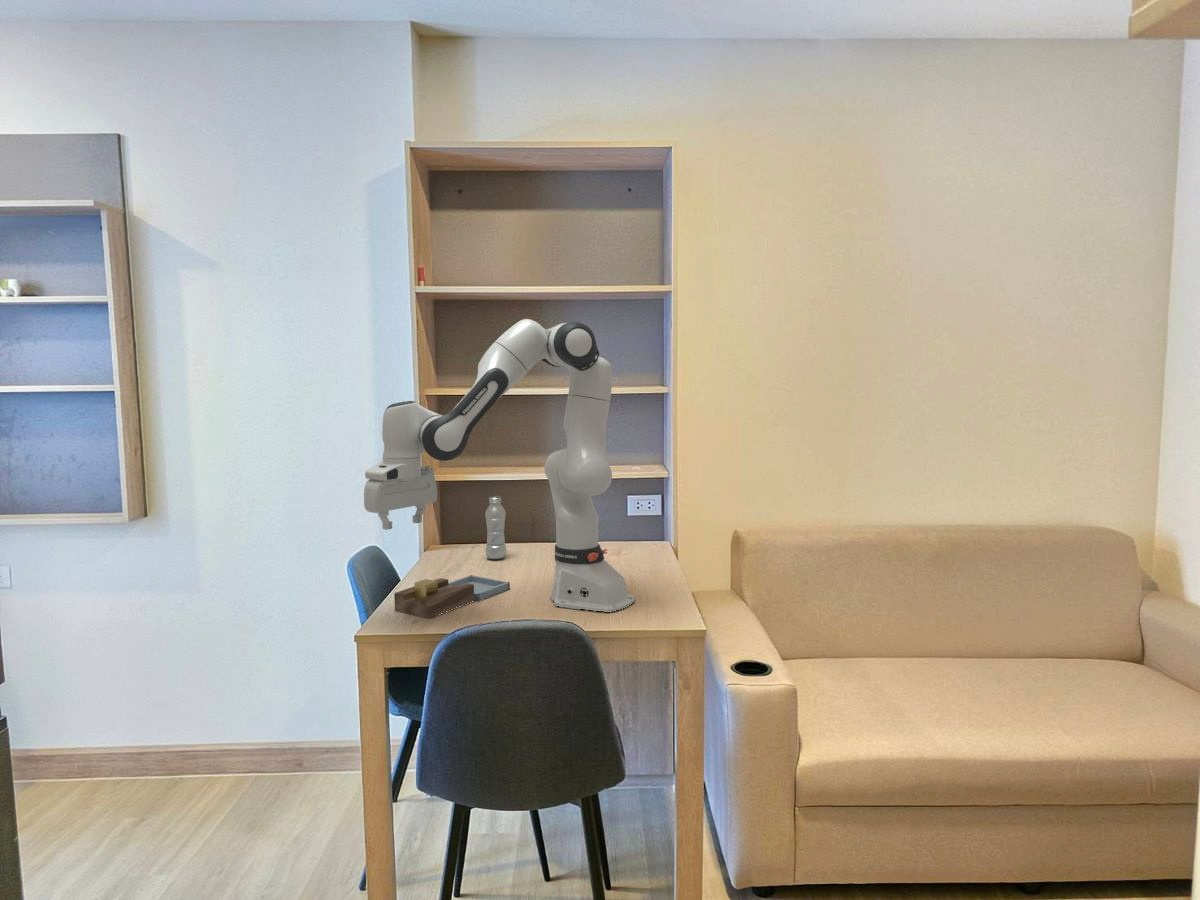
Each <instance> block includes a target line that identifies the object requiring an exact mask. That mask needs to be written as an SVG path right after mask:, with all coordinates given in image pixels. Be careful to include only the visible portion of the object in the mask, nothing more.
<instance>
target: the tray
mask: <svg viewBox="0 0 1200 900" xmlns="http://www.w3.org/2000/svg"><path fill="white" fill-rule="evenodd" d="M464 583H468V584H473V585H474V602H476V601H479V602H481V601H480V600H482V599H484V600H486V599H485V598H487V597H489V598H491V597H490V596H492V597H494V596H497V595H499V594H502V593H504V591H505V592H507V591H509V590H510V589H511V588H510V587H511V583H510V581H505V580H501V579H495V578H489V577H484V576H478V575H473V574H471V575H467V576H464V577H461V578H459V579H455V580H452V581H448V584H449V585H451V586H458V585H461V584H464ZM506 590H507V591H506ZM501 592H502V593H501ZM498 593H499V594H498ZM496 594H497V595H496ZM493 595H494V596H493ZM487 599H488V598H487ZM482 601H483V600H482Z"/></svg>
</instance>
